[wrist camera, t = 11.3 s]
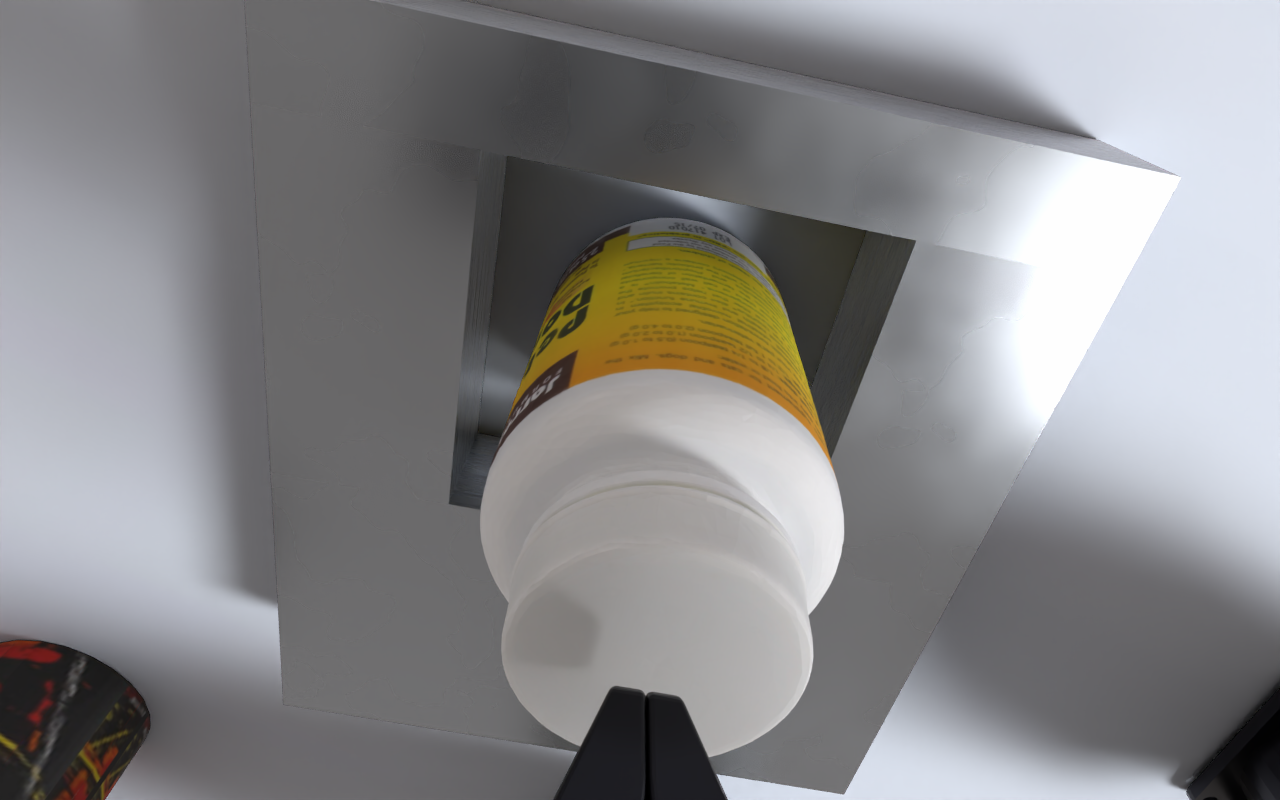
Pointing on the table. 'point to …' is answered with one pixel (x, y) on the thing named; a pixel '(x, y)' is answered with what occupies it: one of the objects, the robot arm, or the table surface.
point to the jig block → (677, 160)
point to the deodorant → (64, 723)
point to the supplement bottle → (663, 491)
